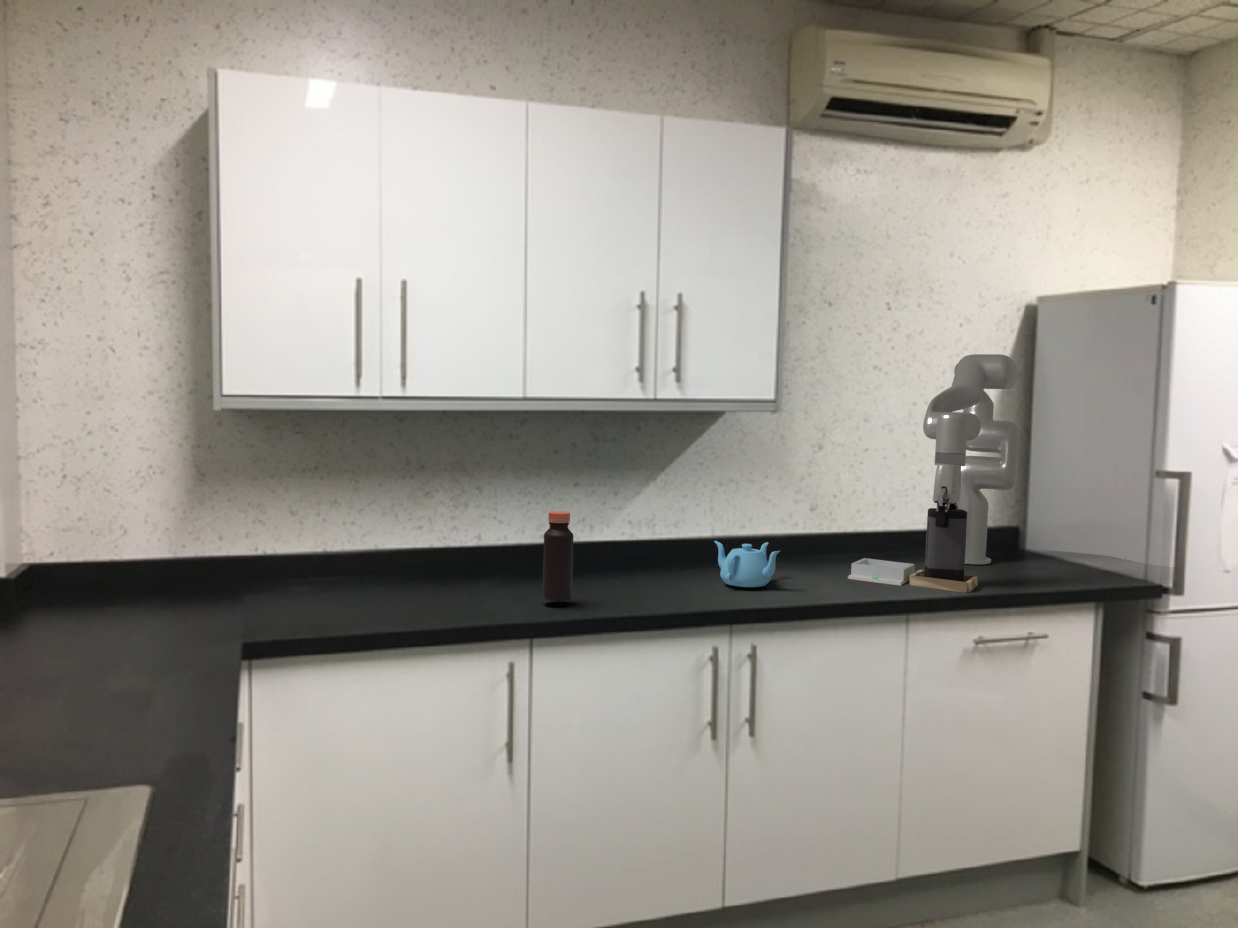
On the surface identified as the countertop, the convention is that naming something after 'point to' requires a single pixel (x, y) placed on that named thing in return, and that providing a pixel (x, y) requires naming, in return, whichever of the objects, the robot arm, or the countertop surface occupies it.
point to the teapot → (746, 565)
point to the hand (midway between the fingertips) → (946, 525)
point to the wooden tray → (943, 582)
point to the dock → (881, 571)
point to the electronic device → (946, 546)
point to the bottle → (558, 558)
